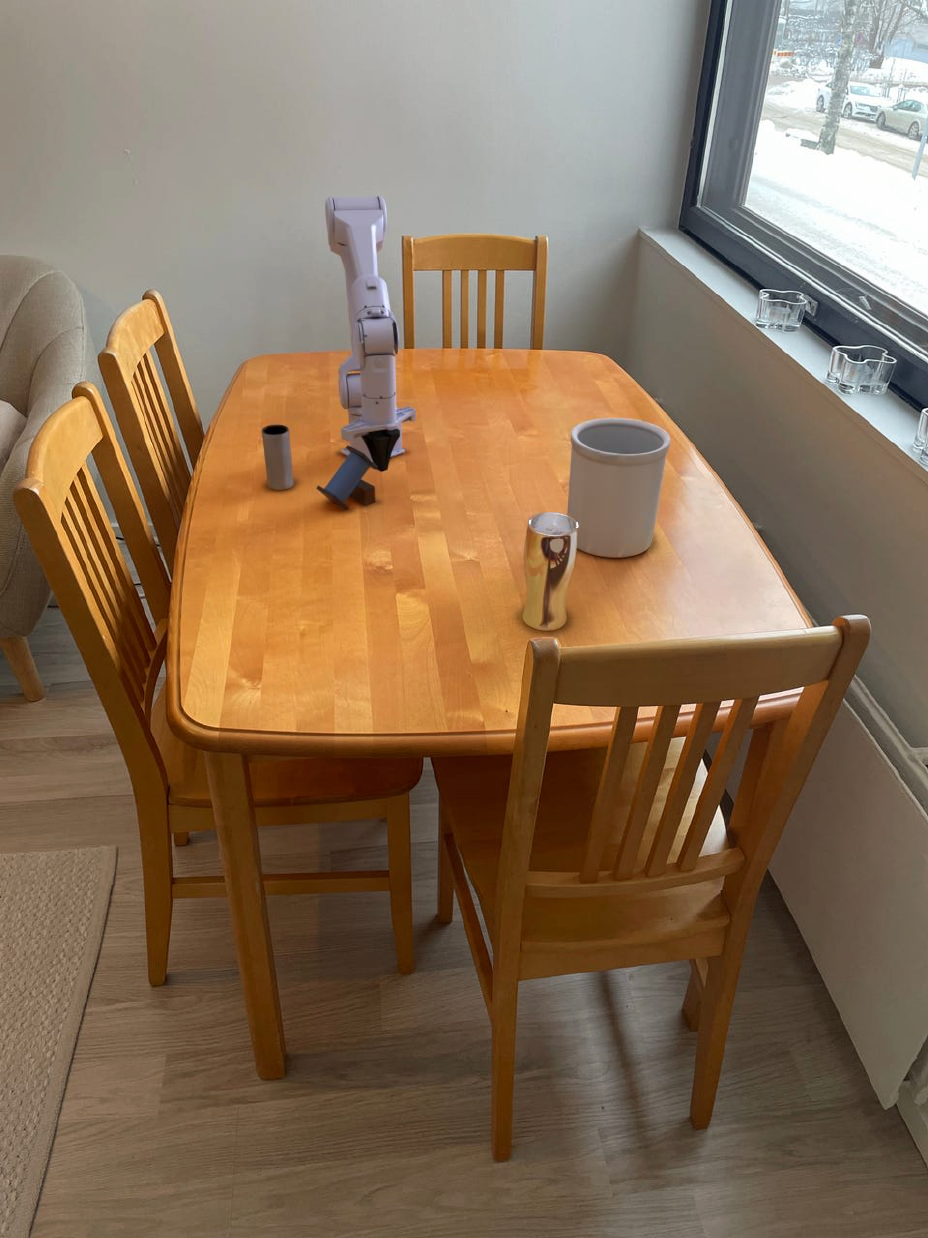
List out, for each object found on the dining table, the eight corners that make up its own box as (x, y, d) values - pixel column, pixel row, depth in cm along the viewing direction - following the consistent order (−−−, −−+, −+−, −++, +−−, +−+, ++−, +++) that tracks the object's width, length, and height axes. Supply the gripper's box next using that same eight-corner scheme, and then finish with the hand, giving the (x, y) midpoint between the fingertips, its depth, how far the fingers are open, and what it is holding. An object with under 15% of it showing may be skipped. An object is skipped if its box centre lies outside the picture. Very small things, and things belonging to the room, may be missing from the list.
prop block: (353, 490, 159) (353, 474, 157) (375, 502, 155) (374, 486, 153) (343, 494, 157) (342, 478, 156) (365, 506, 154) (364, 490, 152)
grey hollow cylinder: (288, 491, 158) (283, 435, 152) (263, 489, 158) (257, 433, 152) (297, 480, 161) (292, 425, 155) (273, 477, 162) (267, 422, 156)
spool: (362, 489, 159) (360, 440, 154) (378, 498, 156) (377, 448, 151) (317, 506, 153) (313, 456, 148) (333, 515, 151) (329, 464, 146)
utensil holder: (545, 524, 150) (553, 423, 140) (623, 509, 155) (636, 410, 145) (590, 567, 139) (602, 461, 129) (672, 549, 144) (690, 446, 134)
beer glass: (516, 605, 130) (522, 511, 121) (564, 604, 130) (574, 510, 122) (523, 633, 124) (530, 537, 116) (573, 632, 125) (584, 535, 116)
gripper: (358, 410, 143) (362, 489, 150) (427, 389, 151) (428, 464, 159) (331, 397, 147) (336, 475, 154) (400, 377, 155) (401, 452, 163)
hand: (381, 469), depth 157 cm, fingers closed
